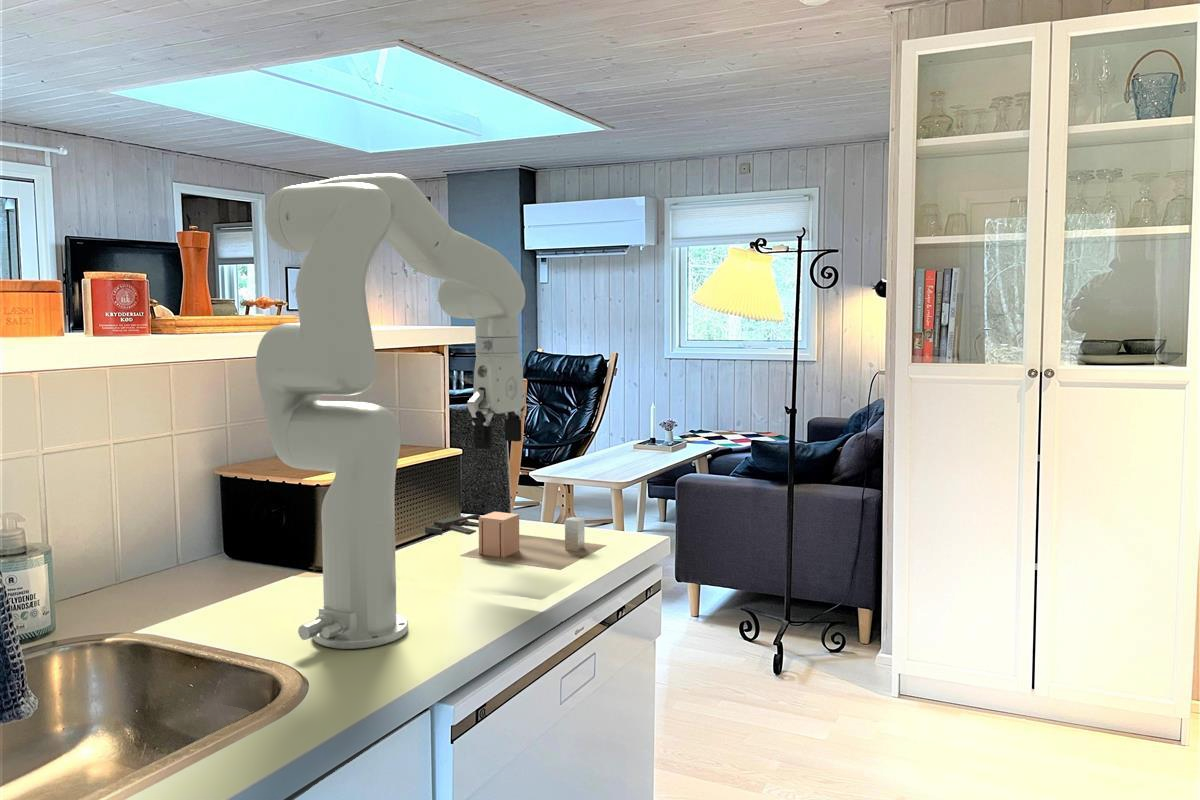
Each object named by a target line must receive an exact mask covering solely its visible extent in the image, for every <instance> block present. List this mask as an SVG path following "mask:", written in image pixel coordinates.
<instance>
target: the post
mask: <svg viewBox="0 0 1200 800" xmlns="http://www.w3.org/2000/svg"><path fill="white" fill-rule="evenodd" d="M564 540H565V550H570V551H580V550H582V549H584V543H585V518H584V517H575V516H570V517H568V518H565V519H564Z"/></svg>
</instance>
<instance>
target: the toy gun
mask: <svg viewBox="0 0 1200 800" xmlns="http://www.w3.org/2000/svg"><path fill="white" fill-rule="evenodd" d="M457 516H458V517H454V518H449V519H445V520H439V521H435V522H434V525H432V526H427V527H425V533H424V534H425V535H428V534H434V535H435V534H437V535H442V534H443V531H445V530H450V531H454V532H458V533H463V534H466V535H471V534H474V533H475V532H477V530H476V529H471V528H469V527H475V528H476V527H477V528H479V522H474V521H479V517H481V516H482V515H480V514H478V513H475V514H471V515H468V516H463V515H462V516H461V515H457ZM469 520H472V521H469ZM473 520H474V521H473ZM463 526H464V527H463ZM466 526H468V527H466Z"/></svg>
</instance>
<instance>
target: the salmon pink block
mask: <svg viewBox="0 0 1200 800" xmlns="http://www.w3.org/2000/svg"><path fill="white" fill-rule="evenodd" d="M480 516H481V517H479V520H478V523H479V527H478V548H479V554H483V555H490V556H498V557H500V556H501V557H506V556H508V555H510V554H513V553H515V552H517V551H519V534H520V514H519V513H513V512H512V513H511V512H510V513H509V512H502V511H492V512H489V513H486V514H484V515H480Z"/></svg>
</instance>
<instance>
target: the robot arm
mask: <svg viewBox="0 0 1200 800" xmlns="http://www.w3.org/2000/svg"><path fill="white" fill-rule="evenodd" d="M263 218H264V224H265V228H266V231H267V233H268V235H269V236H270V238H271V240H273V242H274V243H276V245H278V246H279V247H281V248H282V249H285V250H287V251H289V252H295V253H296V252H297V253H300V252H302V253H306V252H307V254H306V256H305V257H304V260H303V261H302V263H301V266H300V268H299V270H298V274H297V277H296V281H295V282H296V283H295V299H296V305H297V310H298V312H297V313H298V318H299V322H288V323H287V322H286V323H280V324H277V325H275V326H273V327H272V328H269V330H268V331H267V332H266V333H264V335H263V336H262V338H261V339H260V342H259V344H258V347H257V350H256V356H255V372H256V378H257V379H256V380H257V385H258V388H259V389H258V390H259V392H260V398H261V403H262V407H263V411H264V416H265V420H266V421H265V422H266V424H267V430H268V434H269V438H270V442H271V445H272V447H273V450H274V451H275V454H276V456H277V457H278V458H279V459H280V461H281V462H282V463H283V464H284V465H286V466H288V467H290V468H294V469H300V470H307V471H317V472H319V471H320V472H329V473H335V474H334V478H333V481H332V483H330V485H329V488H328V489H327V491H326V493H325V495H324V498H323V501H322V504H321V521H320V522H321V540H322V541H321V542H322V545H321V546H322V547H321V548H322V581H323V582H322V583H323V584H322V585H323V586H322V587H323V606H320V607H318V616H316V617H315V618H314V619H315V620H313V621H312V620H311V621H309V622H306V623H304V624H301V625H300V626H299V627H298V631H297V633H298V636H299V637H300V639H301V640H303V641H306V640H308V639H311V638H312V640H313V641H314V642H315V643H317V644H319V645H320V646H323V647H327V648H333V649H342V650H343V649H344V650H347V649H348V650H354V649H355V650H356V649H364V648H365V649H367V648H373V647H379V646H381V645H386V644H389V643H392V642H395V641H397V640H399V639H401V638H402V637H403V636H405V635H406V634H407V632H408V630H409V621H408V619H407V618H406V617H405V616H403V615H402V614H399V613H397V575H396V574H397V573H396V571H397V570H396V569H397V568H396V565H397V564H396V561H397V560H396V520H395V519H396V518H395V513H396V512H395V490H396V489H395V488H396V476H397V468H398V467H397V466H398V462H399V461H398V460H399V456H400V451H401V444H402V430H401V426H400V423H399V420H398V419H397V416H395V415H394V413H393V412H391V410H390V409H388V408H387V407H384V406H381V405H380V404H375V403H371V402H365V401H345V400H342V401H341V400H335V401H334V400H331V401H330V400H319V396H334V397H335V396H340V397H341V396H343V397H344V396H355V395H359V394H362V393H364V392H366V391H368V390H369V389H371V388H372V386H373V385H374V383H375V382H376V378H377V373H378V372H377V355H376V350H375V344H374V338H373V333H372V332H373V331H372V326H371V322H370V314H369V309H368V304H367V303H368V302H367V293H366V279H367V273H368V270H369V267H370V265H371V262H372V260H373V258H374V256H375V253H376V252H377V250H378V248H379V247H380V245H381V243H382V242H383V240H385V242H387V243H388V244H389V245H390V246H391V247H392V249H393V250H395V252H396V253H398V254H399V256H400V257H401V258H402V259H403V261H405V263H407V264H408V266H409V267H411V268H412V269H413V270H414V271H416V272H418V273H419V274H423V275H426V276H428V277H432V278H436V279H439V280H443V281H442V282H441V283H440V285H439V288H438V292H437V300H438V303H439V306H440V308H441V309H442V311H443V312H444V313H445V314H447V315H448V316H450V317H452V318H455V319H467V320H469V319H471V320H473V319H474V321H475V322H474V323H475V325H474V326H475V327H474V328H475V330H474V331H475V332H474V333H475V356H476V357H475V363H474V369H473V370H474V373H473V395H472V396H471V397H470V398H469V400H467V403H466V405H467V408H468V411H469V417H470V419H471V424H472V425H473V426H474V427H473V430H474V431H473V432H474V433H473V435H474V439H473V440H474V448H475V449H481V450H491V449H492V448H493V443H492V442H493V430H492V429H493V426H492V425H490V423H491V420H492V418H493V416H494V413H495V414H497V415H498V414H499V415H501V414H505V416H506V418H504V440H505V441H508V442H521V441H522V419H523V418H524V414H523V411H524V409H525V406H526V405H525V403H526V397H527V394H526V391H525V383H524V371H523V365H522V359H521V354H520V351H519V350H520V337H519V336H520V334H519V333H520V332H519V331H520V329H519V328H520V327H519V325H520V323H519V318H520V317H519V314H520V313H521V311H522V310H523V309H524V306H525V304H526V303H525V302H526V290H525V286H524V283H523V281H522V278H521V276H520V275H519V273H518V272H517V269H515V268H514V266H513V265H512V264H511V263H510V262H509V260H508V259H507V257H505V256H504V255H503V254H501V252H499V251H498V250H496V249H494V248H492V247H491V246H488V245H487V244H485V243H483V242H481V241H478V240H477V239H475V238H472V237H471V236H469V235H467V234H464V233H461V232H460V231H457V230H455V229H453V227H451V226H450V225H449V223H448V222H447V221H446V219H445V218H444V217H443V215H441V213H440V212H439V211H438V210H437V209H436V207H435V206H434V205H433V204H432V203H431V201H430V200H429V199H428V198H427V196H426V195H425V194H424V193H423V191H421V189H420V188H419V187H418V186H417V184H416V183H415V182H413V181H412V179H410V178H409V177H407V176H405V175H402V174H399V173H394V172H393V173H392V172H391V173H390V172H389V173H388V172H387V173H385V172H384V173H371V174H369V173H368V174H357V175H344V176H339V177H338V176H337V177H333V178H328V179H324V180H319V181H313V182H308V183H301V184H296V185H295V184H294V185H290V186H285V187H282V188H280V189H279V190H277V191H275V192H274V193H273V194H272V196H271V197H270V198H268V201H267V203H266V205H265V209H264V217H263Z"/></svg>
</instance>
